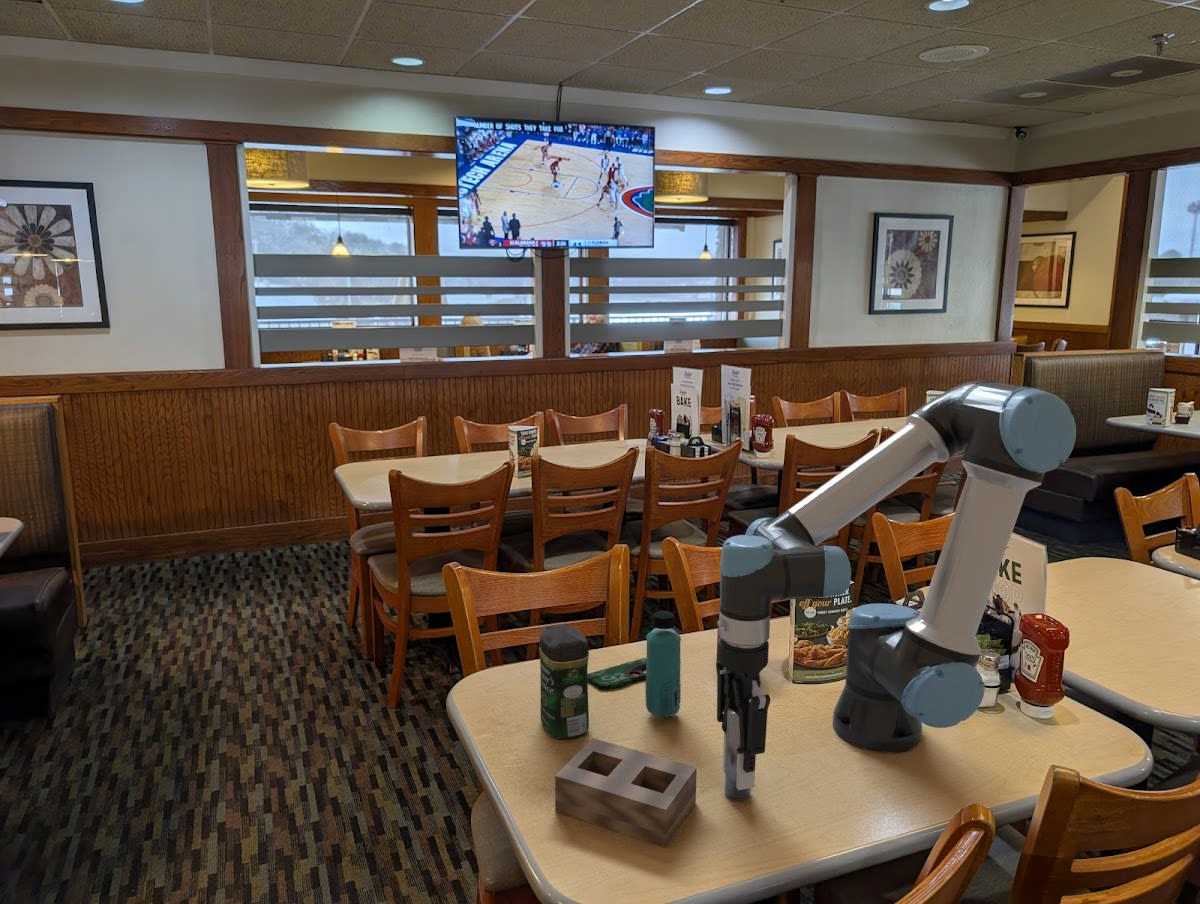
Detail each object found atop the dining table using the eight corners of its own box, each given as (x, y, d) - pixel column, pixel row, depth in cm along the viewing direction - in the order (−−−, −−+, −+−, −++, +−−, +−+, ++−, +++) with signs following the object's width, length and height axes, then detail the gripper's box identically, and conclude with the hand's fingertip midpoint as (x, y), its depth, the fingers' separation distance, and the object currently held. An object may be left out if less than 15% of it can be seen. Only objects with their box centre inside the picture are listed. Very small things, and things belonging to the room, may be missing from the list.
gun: (609, 693, 162) (582, 673, 170) (608, 700, 162) (582, 679, 171) (676, 672, 171) (647, 654, 179) (676, 679, 171) (647, 661, 179)
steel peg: (753, 790, 133) (757, 708, 130) (746, 804, 129) (749, 720, 127) (729, 783, 135) (732, 703, 132) (721, 797, 131) (723, 714, 128)
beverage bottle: (678, 726, 152) (680, 622, 148) (641, 722, 153) (643, 619, 149) (682, 708, 158) (684, 608, 154) (647, 705, 160) (648, 605, 156)
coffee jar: (534, 718, 155) (533, 623, 151) (575, 710, 158) (575, 617, 154) (552, 745, 146) (551, 644, 142) (594, 736, 149) (594, 637, 145)
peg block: (695, 802, 130) (696, 767, 129) (665, 847, 119) (666, 809, 118) (592, 771, 138) (592, 738, 137) (555, 811, 128) (555, 775, 126)
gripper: (697, 620, 134) (693, 754, 138) (747, 666, 118) (741, 815, 122) (740, 614, 136) (735, 746, 141) (795, 658, 120) (787, 806, 125)
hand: (738, 778), depth 131 cm, fingers closed on steel peg, 4 cm apart
